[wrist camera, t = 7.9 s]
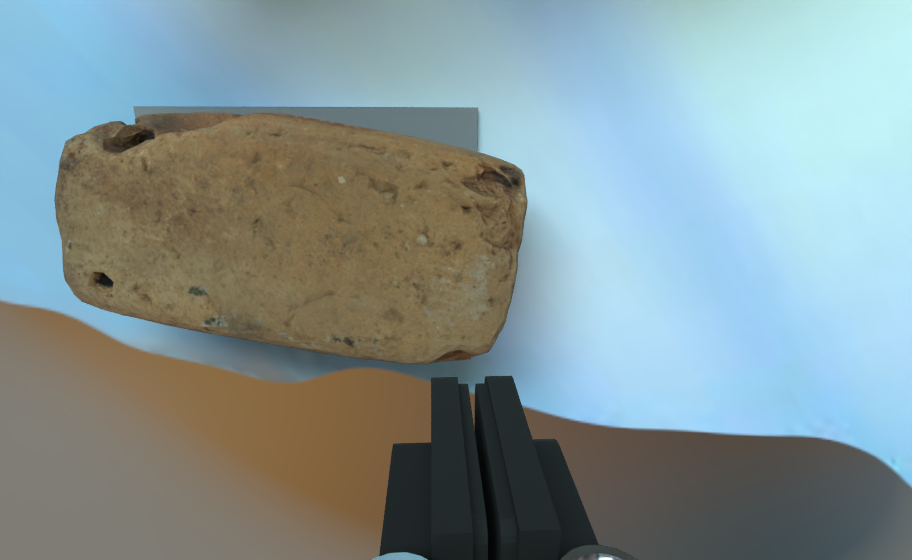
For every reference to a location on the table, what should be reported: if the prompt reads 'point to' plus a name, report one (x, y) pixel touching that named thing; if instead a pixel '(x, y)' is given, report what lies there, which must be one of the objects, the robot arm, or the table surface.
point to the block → (293, 233)
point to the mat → (371, 119)
